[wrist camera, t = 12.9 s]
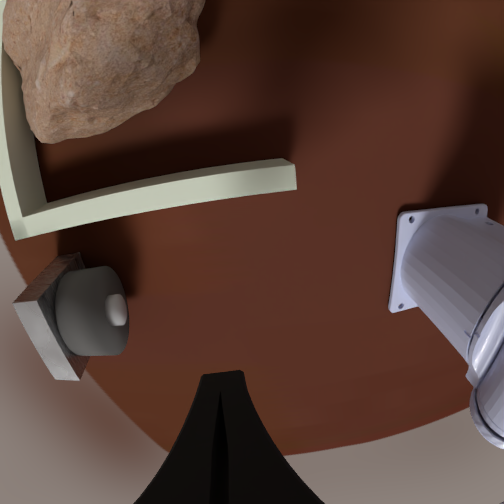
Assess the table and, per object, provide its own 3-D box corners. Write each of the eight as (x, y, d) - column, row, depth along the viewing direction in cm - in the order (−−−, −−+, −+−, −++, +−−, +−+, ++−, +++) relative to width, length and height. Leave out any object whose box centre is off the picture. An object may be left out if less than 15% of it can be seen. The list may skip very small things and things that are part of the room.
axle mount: (79, 252, 17) (36, 300, 12) (106, 321, 20) (79, 380, 14) (57, 256, 17) (12, 303, 12) (84, 323, 19) (55, 379, 14)
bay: (248, -78, 9) (252, -103, 6) (284, 178, 17) (296, 189, 14) (20, -12, 9) (-1, -22, 6) (39, 223, 16) (15, 240, 13)
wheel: (120, 250, 17) (89, 294, 12) (142, 319, 19) (125, 373, 14) (46, 263, 17) (8, 303, 12) (73, 325, 19) (46, 372, 14)
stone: (213, 90, 16) (271, -41, 7) (106, 202, 14) (49, 82, 4) (87, 17, 14) (85, -89, 5) (-10, 101, 12) (-66, 3, 2)
